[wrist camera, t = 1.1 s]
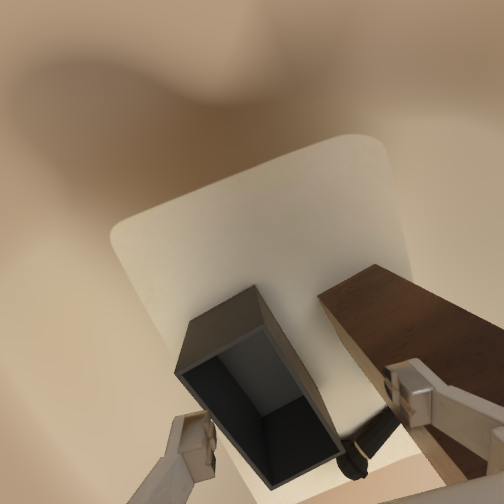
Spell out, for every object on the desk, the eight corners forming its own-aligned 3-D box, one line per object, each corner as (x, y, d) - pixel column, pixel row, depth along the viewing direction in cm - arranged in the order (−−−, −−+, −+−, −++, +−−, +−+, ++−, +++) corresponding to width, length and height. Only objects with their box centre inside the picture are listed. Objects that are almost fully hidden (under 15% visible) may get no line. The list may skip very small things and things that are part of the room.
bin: (189, 321, 36) (173, 373, 26) (254, 284, 35) (264, 323, 25) (260, 417, 42) (270, 491, 32) (317, 387, 41) (346, 452, 31)
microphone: (399, 370, 46) (325, 446, 46) (418, 385, 40) (335, 472, 40) (421, 392, 45) (347, 468, 45) (444, 410, 40) (359, 498, 39)
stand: (317, 295, 37) (527, 552, 11) (375, 263, 36) (742, 451, 10) (342, 343, 39) (561, 642, 13) (397, 314, 39) (734, 565, 13)
